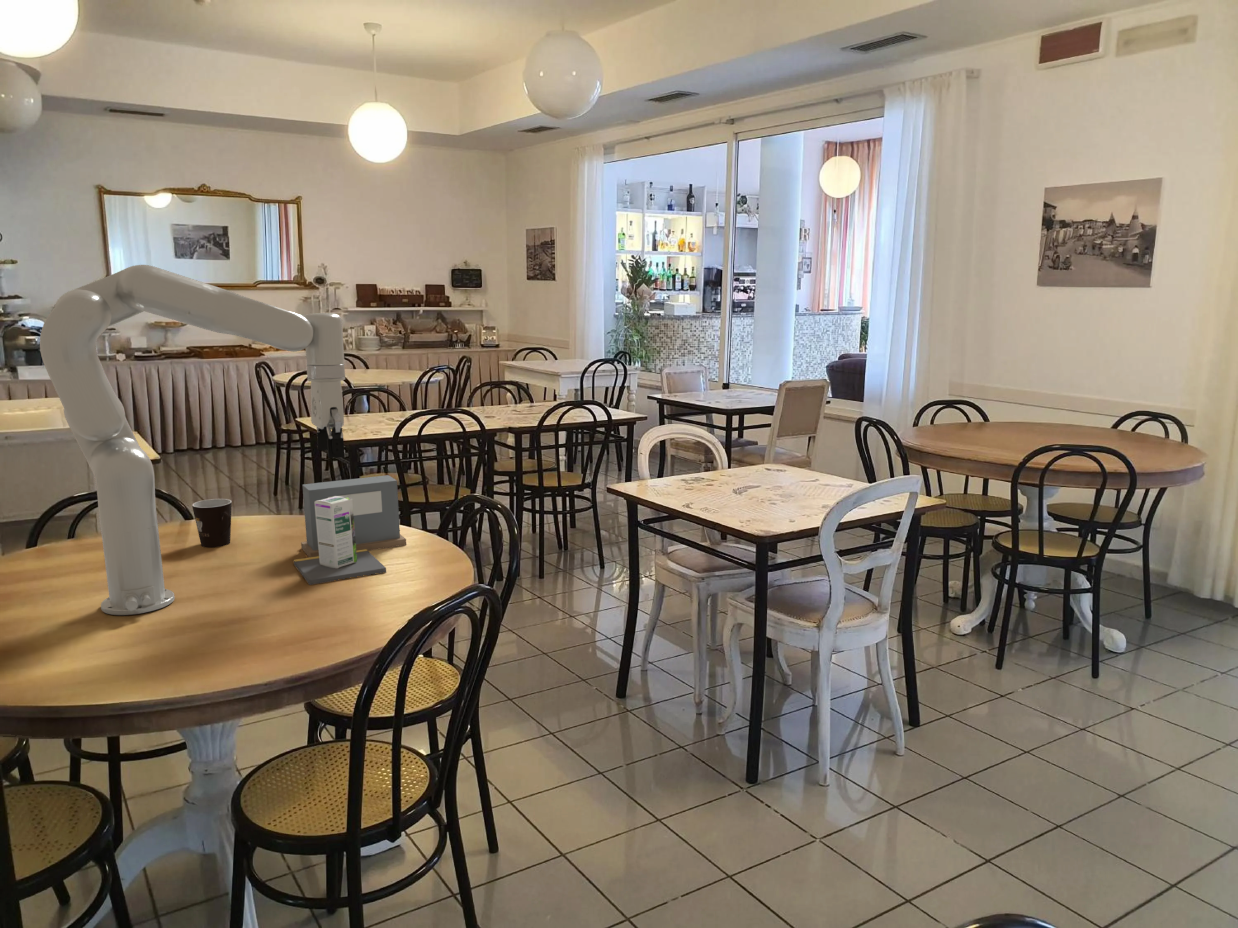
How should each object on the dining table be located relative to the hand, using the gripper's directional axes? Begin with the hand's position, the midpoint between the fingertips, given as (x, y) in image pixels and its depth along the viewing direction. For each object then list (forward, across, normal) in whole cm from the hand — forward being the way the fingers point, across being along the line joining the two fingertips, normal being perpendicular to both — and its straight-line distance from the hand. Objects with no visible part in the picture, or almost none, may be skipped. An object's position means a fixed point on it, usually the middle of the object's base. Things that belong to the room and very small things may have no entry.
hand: (330, 453), depth 191 cm
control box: (+25, -15, +7) cm, 30 cm away
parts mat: (+26, 0, 0) cm, 26 cm away
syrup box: (+25, 0, 0) cm, 25 cm away
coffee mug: (+26, -33, -21) cm, 47 cm away
